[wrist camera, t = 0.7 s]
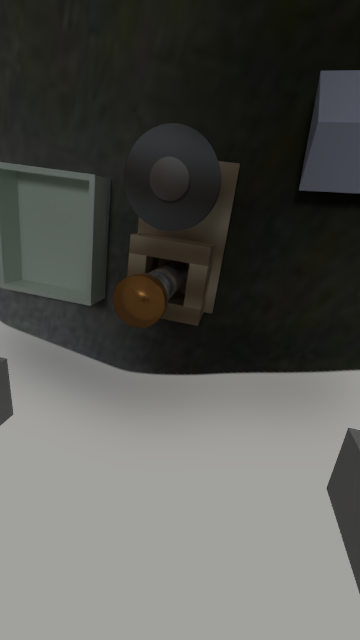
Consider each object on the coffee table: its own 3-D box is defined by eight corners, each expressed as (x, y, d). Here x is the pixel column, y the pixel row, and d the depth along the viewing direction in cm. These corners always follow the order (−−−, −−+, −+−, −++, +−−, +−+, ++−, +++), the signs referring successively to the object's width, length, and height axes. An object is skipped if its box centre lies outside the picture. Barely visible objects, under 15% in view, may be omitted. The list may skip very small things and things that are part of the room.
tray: (16, 167, 35) (-10, 160, 31) (111, 180, 33) (95, 174, 30) (22, 281, 40) (0, 287, 36) (105, 297, 38) (90, 305, 34)
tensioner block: (148, 143, 31) (112, 114, 23) (242, 154, 30) (241, 127, 21) (134, 296, 37) (102, 318, 29) (212, 311, 36) (203, 339, 27)
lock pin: (161, 253, 34) (114, 271, 21) (195, 258, 33) (167, 280, 21) (157, 286, 35) (111, 322, 23) (189, 292, 34) (160, 332, 22)
